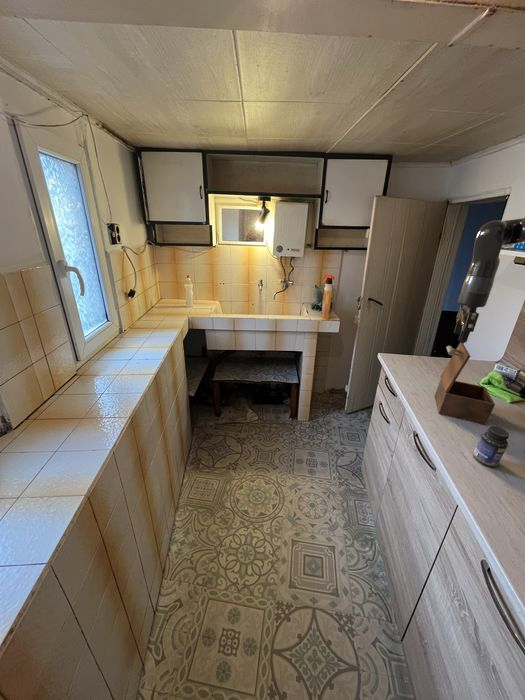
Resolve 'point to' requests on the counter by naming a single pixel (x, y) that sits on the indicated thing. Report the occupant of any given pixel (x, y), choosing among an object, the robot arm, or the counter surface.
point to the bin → (465, 402)
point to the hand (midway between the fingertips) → (459, 337)
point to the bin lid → (454, 365)
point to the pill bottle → (491, 446)
